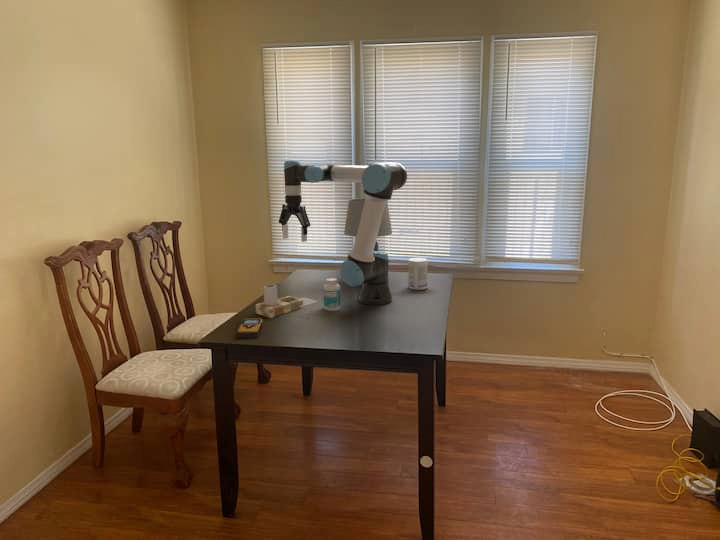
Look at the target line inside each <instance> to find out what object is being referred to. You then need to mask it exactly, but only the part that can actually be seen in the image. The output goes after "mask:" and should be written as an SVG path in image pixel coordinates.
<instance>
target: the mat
mask: <svg viewBox="0 0 720 540" xmlns="http://www.w3.org/2000/svg"><path fill="white" fill-rule="evenodd" d="M300 299H302V300H303V307H305V306H308V305H313V304H316V303H319V301H317V300H315V299H311V298H308V297H302V298H300Z"/></svg>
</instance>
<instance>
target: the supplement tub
mask: <svg viewBox="0 0 720 540" xmlns="http://www.w3.org/2000/svg"><path fill="white" fill-rule="evenodd" d="M407 267H408V269H407V271H408V273H407V274H408V275H407V276H408V279H407V281H408V288H409V290H410V289H411V290H414V291H423V290H426V289H427V288H428V259H427V258H424V257H411V258H409V259H408V264H407Z"/></svg>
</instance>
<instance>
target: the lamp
mask: <svg viewBox="0 0 720 540" xmlns="http://www.w3.org/2000/svg"><path fill="white" fill-rule="evenodd" d="M365 199H366V197H359V198H357V197H356V198H355V197H354V198H349V199H348V204H347V211H346V218H345V226H344V232H343V234H344V235H345V236H349V237H356V236H357V232H358V228H359V224H360V220H361V216H362V211H363V207H364V203H365ZM388 202H389V201H387V202H386V205H385V208H384V212H383V216H382V220H381V224H380V228H379V231H378V235H377V238H378V237H386V236H390V235H392V234H393V230H392V223H391V217H390V211H389V203H388ZM374 251H379V243H378V241H377V240H376V243H375V247H374Z"/></svg>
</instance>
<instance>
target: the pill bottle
mask: <svg viewBox="0 0 720 540" xmlns="http://www.w3.org/2000/svg"><path fill="white" fill-rule="evenodd" d="M325 282H326V283H324V285H323V287H322V288H323V310H325V311H330V312H331V311H332V312H337V311H340V310H341V307H342V306H341V305H342V303H341V300H342V299H341V285H340V284H339V283H338V279H337V278H333V277H331V278H326V279H325Z"/></svg>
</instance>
